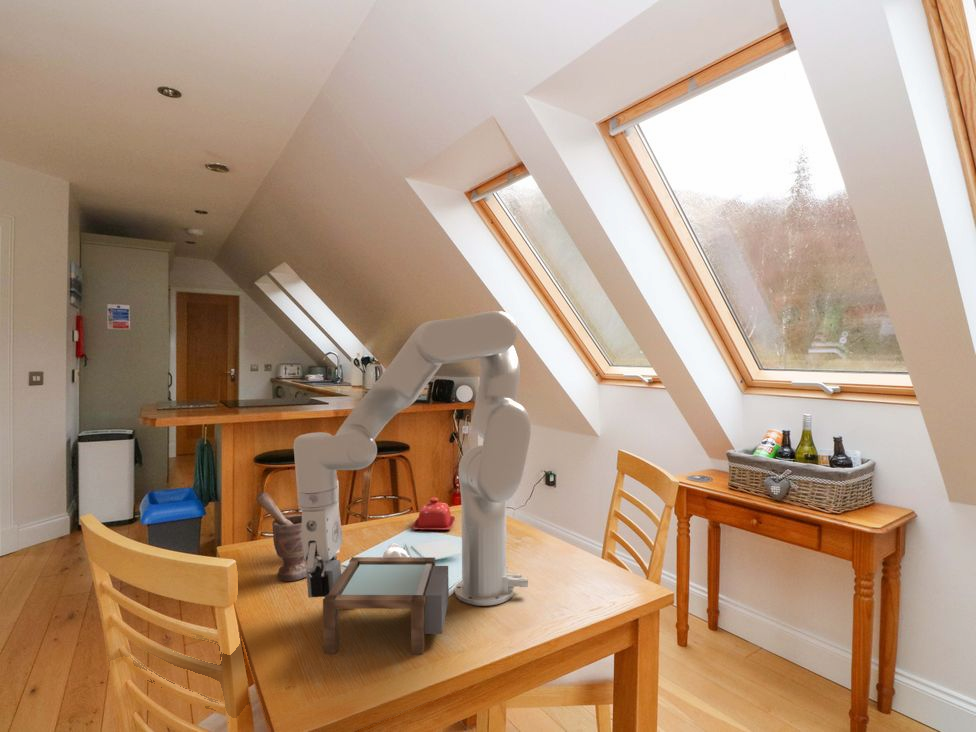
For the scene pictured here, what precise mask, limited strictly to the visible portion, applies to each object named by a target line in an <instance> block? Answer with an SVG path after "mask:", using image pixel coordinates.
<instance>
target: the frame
mask: <svg viewBox="0 0 976 732" xmlns="http://www.w3.org/2000/svg"><path fill="white" fill-rule="evenodd" d="M348 562H349V563H348V565H347V566H346V567H345V568H344V570H343V571H342V572H341V576H340V578H339V579H338V581H337V582H336V584H335V585H334V586H333V588H332V589H331V591H330V592H329V594H328V595H326V596H325V597H323V598H322V622H323V625H322V626H323V628H322V629H323V654H331V655H333V654H334V655H335V654H337V652H338V650H339V646H340V644H339V609H340V610H341V609H342V610H343V609H348V610H349V609H351V610H352V609H353V610H354V609H355V610H357V609H360V610H361V609H365V610H366V609H369V610H371V609H372V610H373V609H374V610H375V609H376V610H377V609H378V610H380V609H381V610H387V609H389V610H394V609H395V610H397V609H398V610H400V609H401V610H410V635H411V637H410V640H411V641H410V643H411V644H410V645H411V648H410V649H411V655H423V654H424V651H425V595H341V594H342V592H343V591H344V589H345V588H346V586H347V584H348V583H349V581H350V580H351V578H352V576H353V575H354V573H355V572H356V570H357V568H358V567H359V565H426V564H432V569H433V566H436V557H435V556H434V557H425V556H423V557H414V556H412V557H411V556H410V557H383V556H382V557H379V556H377V557H372V556H370V557H368V556H367V557H363V556H361V557H359V556H356V557H355V556H352V557H351V558H350V560H349V561H348ZM431 572H432V571H431ZM430 576H431V575H430ZM429 579H430V578H429ZM428 583H429V581H428ZM427 586H428V585H427ZM426 589H427V588H426ZM425 593H426V591H425Z"/></svg>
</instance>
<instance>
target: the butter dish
mask: <svg viewBox="0 0 976 732" xmlns="http://www.w3.org/2000/svg"><path fill="white" fill-rule="evenodd" d="M455 519H456V516H454V515H452V514H451V510H450V506H449V505H448V503H445V502H440V501H439V498H438V497H431V498H430V499H429V502H427V503H424V504H423V505H422V506H421V507H420V510H419V513H418V517H417V518H416V520H415V521H414V523H413V526H412V529H413V530H417V529H420V531H421V530H424V531H425V530H426V531H429V530H430V531H434V530H435V531H446V530H451V529H452V527H453V526H454V524H455V523H454V522H455Z"/></svg>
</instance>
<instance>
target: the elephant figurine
mask: <svg viewBox="0 0 976 732" xmlns="http://www.w3.org/2000/svg"><path fill="white" fill-rule="evenodd" d="M411 556H412V557H413V556H414V553H413V554H411V555H408V552H407V550H405V549H404V548H402V547H399V545H398V544H397V543H391V544H390V545H389V546H388V547H387V549H386V550H384V553H383V556H382V557H411Z"/></svg>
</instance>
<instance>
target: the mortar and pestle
mask: <svg viewBox="0 0 976 732" xmlns="http://www.w3.org/2000/svg"><path fill="white" fill-rule="evenodd" d="M256 501H257V503H258V504H259V505H260V507H262V508H263V509H264V511H266V512H267V513H268V514H269V515H270V517H272V518H273V519H274V520H272V523H271V525H272V526H271V527H272V534H273V535H272V539H273V545H274V549H275V552H276V555H277V556H278V557H279V558H280V559H281V560H282V561H283V564H282V565H281V566H280V567H279V568H278V571H277V580H280V581H283V582H294V581H295V582H296V581H298V580H299V581H300V580H302V579H305V578H307V574H306V572H307V569H306V566H307V562H306V561H305V560H304V556H303V546H302V514H292V515H291V514H290V515H284V514H283V513H282V512H281V510H280V509H279V507H278V505H277V504H276V502H275V501H274V499H273V498H272V496H271V495H270V493H268V492H266V491H262V492H260V493H259V494H258V495H257V496H256Z"/></svg>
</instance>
